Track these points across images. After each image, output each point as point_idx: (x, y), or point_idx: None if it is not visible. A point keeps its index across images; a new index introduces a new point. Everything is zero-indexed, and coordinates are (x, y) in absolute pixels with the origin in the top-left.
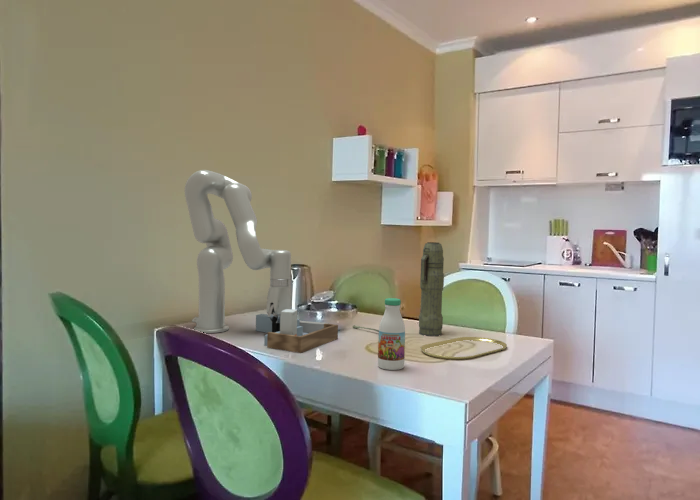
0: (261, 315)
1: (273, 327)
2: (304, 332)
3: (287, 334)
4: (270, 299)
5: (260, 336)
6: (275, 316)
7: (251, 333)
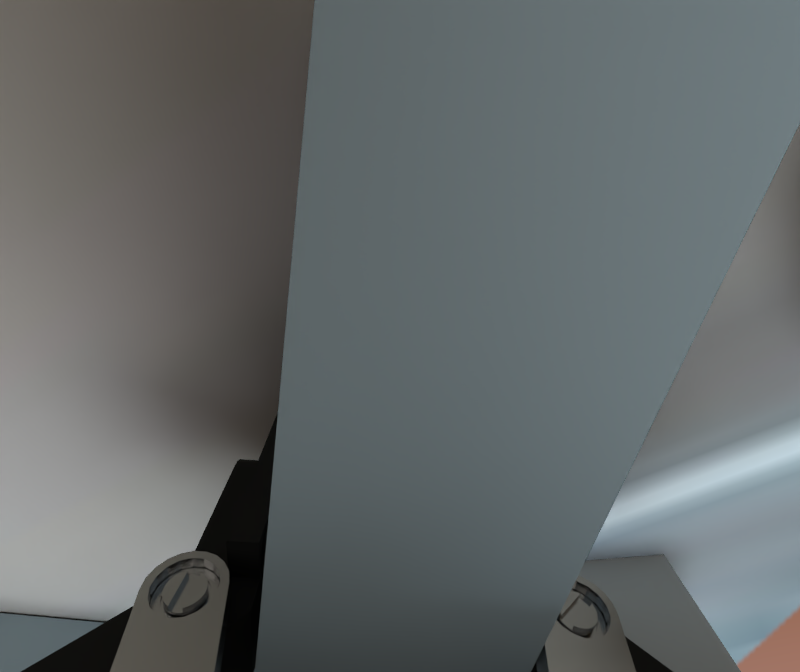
0: (373, 98)
1: (221, 511)
2: None
3: None
4: None
5: (52, 325)
6: (445, 623)
7: (120, 37)
